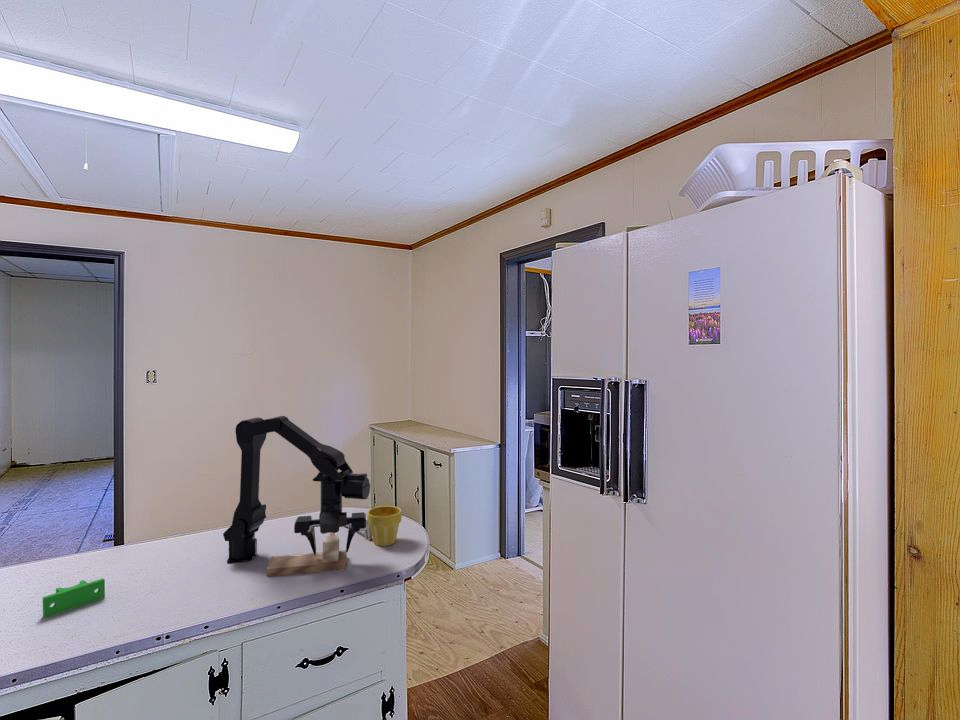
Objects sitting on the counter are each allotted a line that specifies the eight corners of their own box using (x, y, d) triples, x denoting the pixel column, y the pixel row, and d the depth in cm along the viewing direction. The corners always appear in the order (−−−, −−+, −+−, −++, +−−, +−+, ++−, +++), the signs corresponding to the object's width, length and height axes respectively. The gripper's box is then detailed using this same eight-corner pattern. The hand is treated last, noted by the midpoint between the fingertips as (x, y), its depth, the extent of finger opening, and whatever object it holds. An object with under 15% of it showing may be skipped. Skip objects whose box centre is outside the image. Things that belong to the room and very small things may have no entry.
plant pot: (370, 551, 147) (370, 518, 146) (364, 538, 156) (364, 507, 156) (404, 546, 151) (404, 514, 150) (397, 534, 160) (397, 504, 160)
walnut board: (266, 576, 130) (266, 568, 130) (272, 563, 138) (272, 556, 138) (345, 569, 134) (345, 561, 134) (346, 557, 142) (346, 550, 142)
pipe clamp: (98, 593, 121) (99, 575, 121) (104, 598, 118) (104, 579, 118) (39, 613, 111) (39, 593, 111) (44, 618, 109) (44, 598, 109)
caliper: (372, 541, 155) (372, 521, 155) (369, 541, 154) (369, 521, 154) (340, 523, 170) (340, 505, 170) (337, 524, 169) (338, 506, 169)
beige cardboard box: (322, 562, 134) (322, 544, 134) (325, 549, 143) (325, 532, 143) (338, 561, 135) (338, 543, 135) (339, 548, 144) (339, 531, 143)
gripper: (291, 508, 127) (291, 568, 127) (366, 504, 131) (365, 562, 132) (296, 495, 138) (296, 551, 138) (365, 491, 142) (365, 545, 142)
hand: (331, 553), depth 137 cm, fingers open, 8 cm apart
